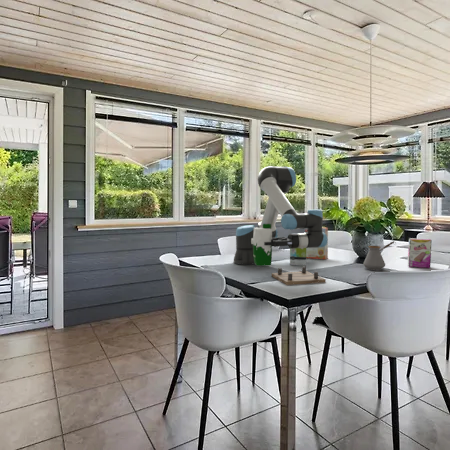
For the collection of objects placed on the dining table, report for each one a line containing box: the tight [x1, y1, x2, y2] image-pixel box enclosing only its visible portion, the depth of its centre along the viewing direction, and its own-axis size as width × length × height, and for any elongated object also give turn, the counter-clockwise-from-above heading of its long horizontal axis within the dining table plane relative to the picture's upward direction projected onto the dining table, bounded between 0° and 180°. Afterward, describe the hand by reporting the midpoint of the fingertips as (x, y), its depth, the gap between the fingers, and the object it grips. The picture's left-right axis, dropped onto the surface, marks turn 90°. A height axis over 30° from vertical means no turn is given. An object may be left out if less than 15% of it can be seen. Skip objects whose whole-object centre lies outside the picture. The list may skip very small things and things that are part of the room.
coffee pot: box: [362, 241, 397, 271], centre depth 202 cm, size 21×12×15 cm, turn 113°
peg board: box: [271, 266, 327, 286], centre depth 177 cm, size 20×20×4 cm
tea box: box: [289, 248, 307, 266], centre depth 221 cm, size 15×10×15 cm
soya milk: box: [253, 224, 273, 267], centre depth 175 cm, size 9×9×20 cm
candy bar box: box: [407, 237, 432, 269], centre depth 204 cm, size 11×5×16 cm, turn 71°
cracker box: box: [304, 227, 329, 260], centre depth 238 cm, size 14×6×21 cm, turn 58°
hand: (254, 242), depth 174 cm, fingers closed on soya milk, 9 cm apart
